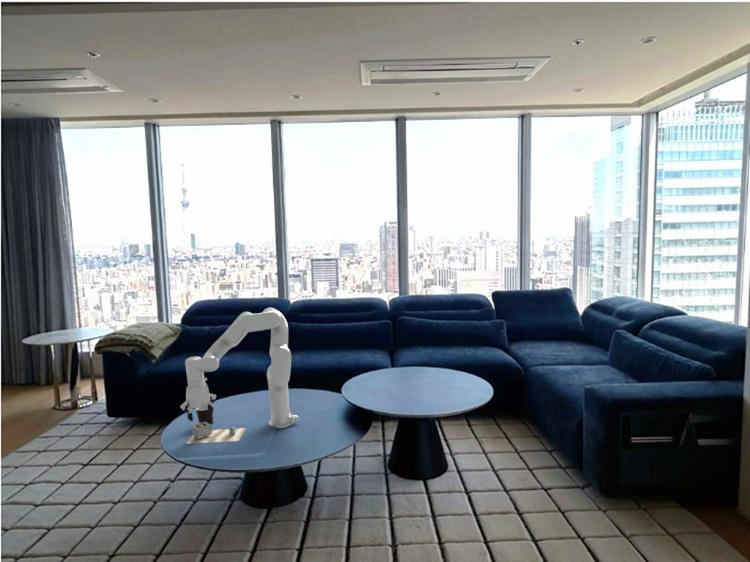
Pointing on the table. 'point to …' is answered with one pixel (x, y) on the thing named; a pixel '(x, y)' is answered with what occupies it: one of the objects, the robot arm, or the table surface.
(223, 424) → the table surface
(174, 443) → the table surface
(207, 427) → the collar
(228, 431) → the stand board
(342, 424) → the table surface
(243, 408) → the table surface
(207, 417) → the coffee mug
